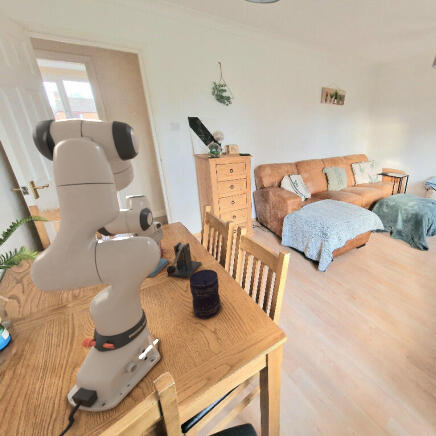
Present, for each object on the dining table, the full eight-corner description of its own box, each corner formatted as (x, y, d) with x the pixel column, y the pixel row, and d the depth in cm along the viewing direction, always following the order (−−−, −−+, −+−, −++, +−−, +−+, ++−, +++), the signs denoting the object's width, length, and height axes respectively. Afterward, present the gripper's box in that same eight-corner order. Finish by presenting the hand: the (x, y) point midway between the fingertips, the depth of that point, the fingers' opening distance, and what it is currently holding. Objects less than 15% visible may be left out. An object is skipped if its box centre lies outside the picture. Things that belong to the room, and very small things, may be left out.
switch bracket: (188, 278, 108) (184, 252, 103) (168, 276, 109) (163, 250, 104) (201, 264, 119) (198, 239, 114) (182, 262, 120) (178, 237, 115)
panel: (153, 277, 108) (151, 269, 107) (133, 274, 109) (131, 267, 108) (169, 262, 119) (167, 256, 118) (150, 260, 120) (149, 253, 119)
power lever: (174, 275, 103) (171, 272, 100) (167, 274, 103) (163, 271, 101) (188, 248, 112) (185, 243, 109) (181, 247, 112) (178, 243, 109)
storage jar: (192, 304, 94) (187, 273, 88) (217, 297, 98) (214, 266, 92) (195, 322, 85) (190, 289, 80) (223, 314, 90) (220, 281, 84)
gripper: (132, 241, 96) (139, 269, 102) (164, 221, 115) (168, 246, 121) (118, 239, 97) (125, 267, 103) (152, 220, 116) (157, 245, 121)
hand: (149, 256), depth 112 cm, fingers closed
